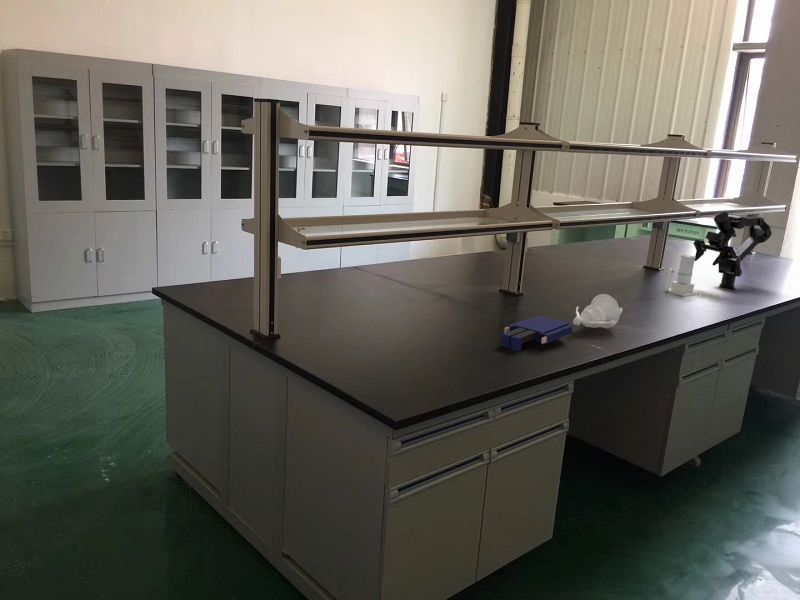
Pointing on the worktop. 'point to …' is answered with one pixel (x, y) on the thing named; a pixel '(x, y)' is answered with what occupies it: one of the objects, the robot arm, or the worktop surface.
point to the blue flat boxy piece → (534, 332)
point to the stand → (679, 287)
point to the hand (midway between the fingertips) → (703, 262)
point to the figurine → (599, 313)
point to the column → (685, 269)
